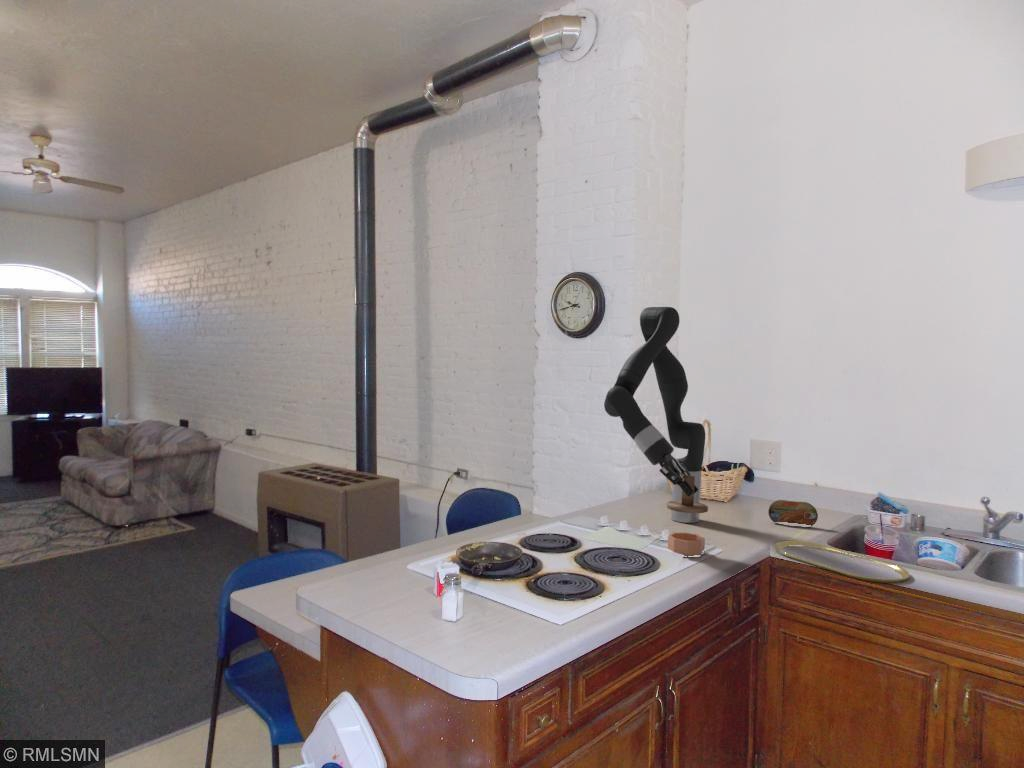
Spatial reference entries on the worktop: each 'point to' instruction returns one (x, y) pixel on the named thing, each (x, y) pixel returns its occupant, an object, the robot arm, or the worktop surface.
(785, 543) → the serving platter
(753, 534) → the worktop surface
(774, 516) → the tin
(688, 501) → the walnut lid
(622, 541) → the sage mat
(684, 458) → the robot arm
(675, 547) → the terracotta bowl
